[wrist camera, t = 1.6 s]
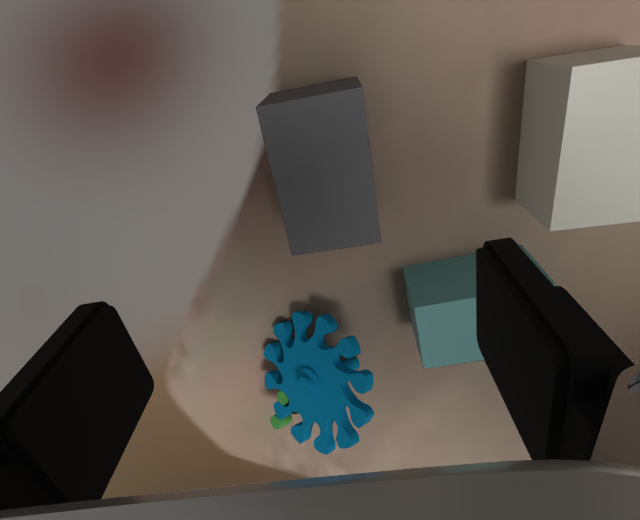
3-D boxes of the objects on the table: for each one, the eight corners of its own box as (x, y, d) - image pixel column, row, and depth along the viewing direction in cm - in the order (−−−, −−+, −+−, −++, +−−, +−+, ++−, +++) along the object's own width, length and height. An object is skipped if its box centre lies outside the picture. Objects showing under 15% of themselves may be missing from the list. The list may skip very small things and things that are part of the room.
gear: (305, 283, 28) (391, 419, 24) (357, 275, 32) (437, 388, 28) (234, 366, 33) (294, 485, 30) (287, 349, 38) (344, 452, 34)
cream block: (525, 59, 22) (572, 67, 18) (623, 44, 22) (696, 48, 17) (513, 197, 26) (549, 231, 22) (596, 187, 26) (650, 219, 21)
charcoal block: (270, 93, 23) (255, 107, 19) (356, 76, 23) (362, 87, 18) (298, 219, 27) (292, 255, 23) (373, 208, 27) (381, 242, 22)
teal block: (520, 243, 28) (555, 283, 23) (520, 303, 30) (552, 349, 26) (402, 265, 29) (414, 307, 24) (411, 321, 31) (423, 368, 27)
